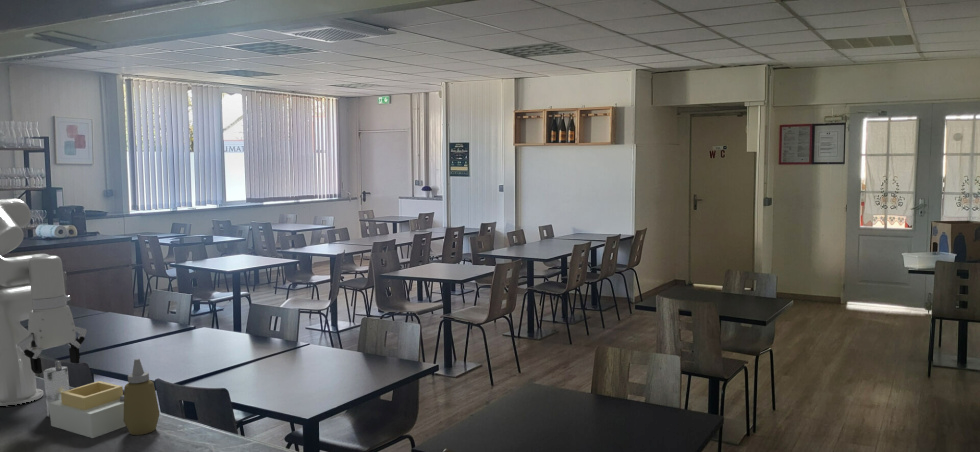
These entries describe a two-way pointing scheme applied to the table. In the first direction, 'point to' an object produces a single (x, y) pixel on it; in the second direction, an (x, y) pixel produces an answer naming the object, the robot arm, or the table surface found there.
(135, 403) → the squeeze bottle
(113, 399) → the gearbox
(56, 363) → the spout can
